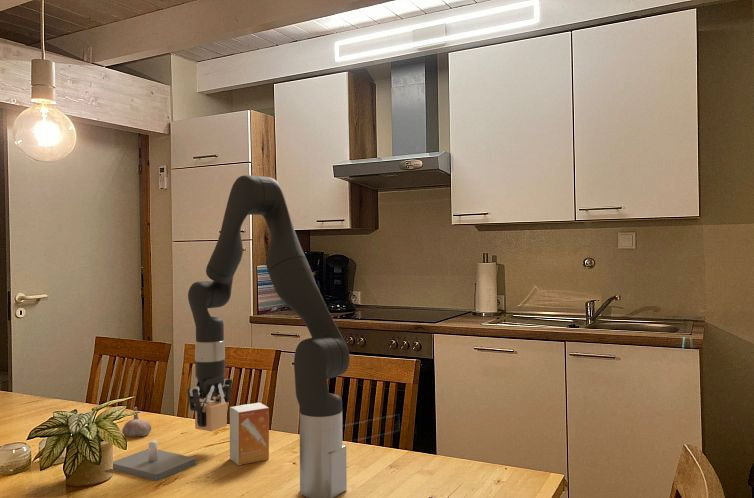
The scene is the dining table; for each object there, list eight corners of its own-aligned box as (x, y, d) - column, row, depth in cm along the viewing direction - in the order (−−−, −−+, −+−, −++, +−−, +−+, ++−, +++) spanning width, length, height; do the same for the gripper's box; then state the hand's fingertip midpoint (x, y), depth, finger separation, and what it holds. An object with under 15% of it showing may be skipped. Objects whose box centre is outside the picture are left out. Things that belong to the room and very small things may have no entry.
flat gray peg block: (196, 464, 148) (195, 439, 148) (156, 481, 138) (156, 454, 138) (150, 453, 156) (150, 430, 156) (109, 468, 145) (109, 443, 145)
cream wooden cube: (226, 425, 159) (226, 402, 159) (211, 431, 154) (211, 407, 154) (210, 423, 162) (210, 400, 162) (195, 428, 157) (194, 405, 157)
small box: (238, 466, 147) (238, 412, 147) (229, 458, 152) (229, 406, 152) (269, 459, 151) (269, 407, 151) (259, 452, 157) (259, 401, 157)
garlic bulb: (116, 437, 170) (116, 408, 170) (138, 430, 177) (138, 402, 177) (135, 441, 167) (134, 412, 166) (156, 434, 173) (156, 405, 173)
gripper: (200, 363, 150) (201, 432, 150) (240, 354, 162) (241, 418, 162) (178, 361, 153) (179, 428, 153) (219, 352, 166) (220, 415, 166)
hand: (211, 423), depth 158 cm, fingers closed on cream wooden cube, 5 cm apart
